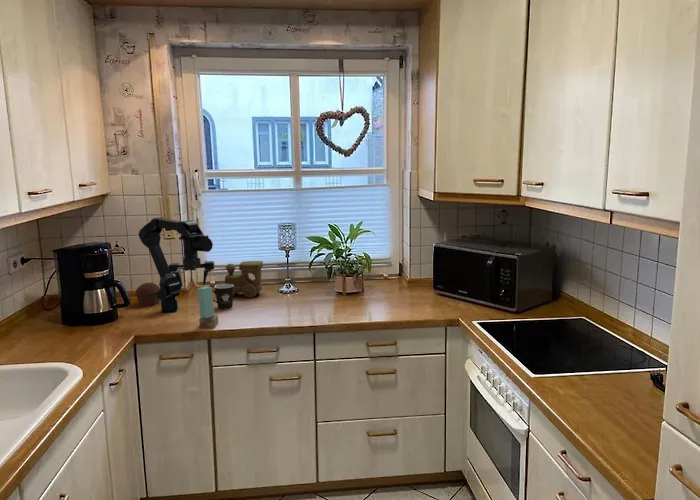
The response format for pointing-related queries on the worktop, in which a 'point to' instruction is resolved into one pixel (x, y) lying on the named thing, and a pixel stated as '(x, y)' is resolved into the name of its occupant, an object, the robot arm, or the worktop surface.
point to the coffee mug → (224, 295)
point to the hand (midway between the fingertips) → (193, 286)
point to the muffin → (147, 294)
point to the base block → (209, 322)
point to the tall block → (206, 302)
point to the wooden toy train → (245, 278)
